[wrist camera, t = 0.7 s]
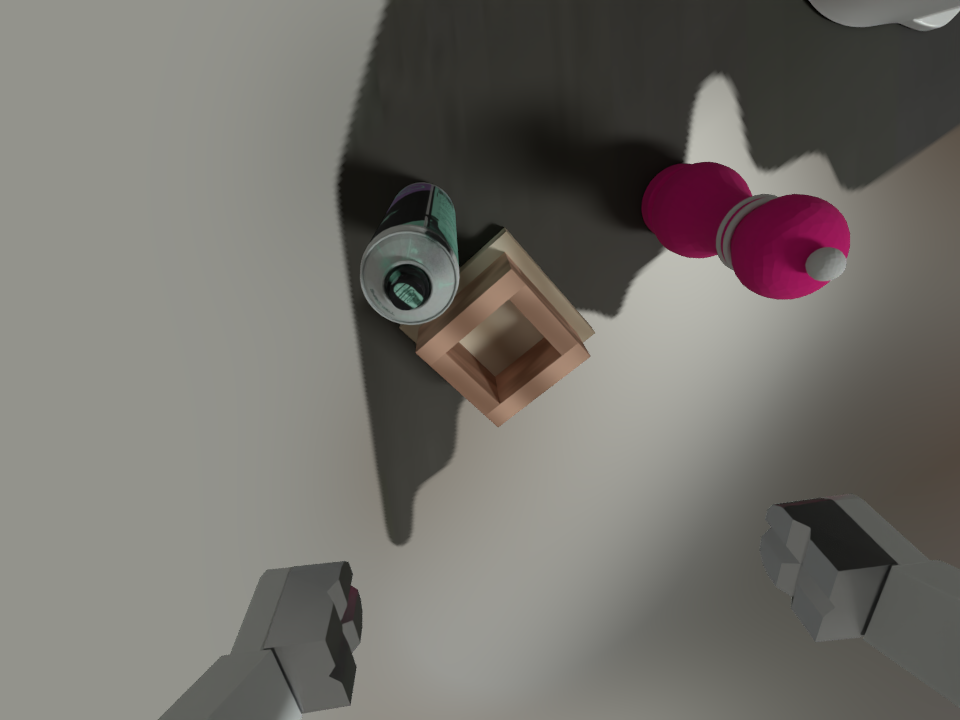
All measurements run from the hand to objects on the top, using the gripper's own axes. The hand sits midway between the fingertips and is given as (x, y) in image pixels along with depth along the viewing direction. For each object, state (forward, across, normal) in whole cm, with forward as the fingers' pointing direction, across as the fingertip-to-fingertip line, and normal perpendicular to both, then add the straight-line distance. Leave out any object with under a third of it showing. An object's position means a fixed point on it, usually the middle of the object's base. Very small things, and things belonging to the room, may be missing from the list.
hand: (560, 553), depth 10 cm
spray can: (+37, +4, 0) cm, 37 cm away
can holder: (+37, -2, +11) cm, 38 cm away
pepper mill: (+37, -18, +1) cm, 41 cm away
